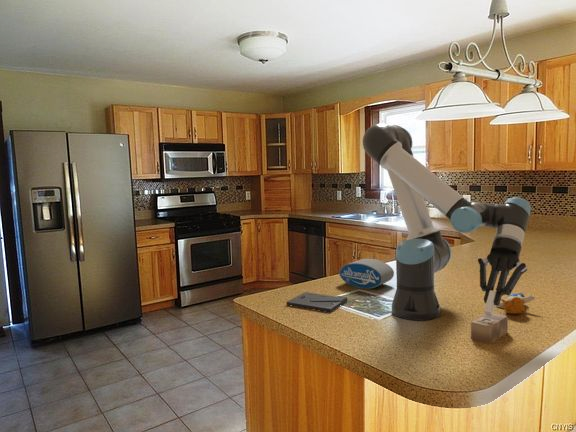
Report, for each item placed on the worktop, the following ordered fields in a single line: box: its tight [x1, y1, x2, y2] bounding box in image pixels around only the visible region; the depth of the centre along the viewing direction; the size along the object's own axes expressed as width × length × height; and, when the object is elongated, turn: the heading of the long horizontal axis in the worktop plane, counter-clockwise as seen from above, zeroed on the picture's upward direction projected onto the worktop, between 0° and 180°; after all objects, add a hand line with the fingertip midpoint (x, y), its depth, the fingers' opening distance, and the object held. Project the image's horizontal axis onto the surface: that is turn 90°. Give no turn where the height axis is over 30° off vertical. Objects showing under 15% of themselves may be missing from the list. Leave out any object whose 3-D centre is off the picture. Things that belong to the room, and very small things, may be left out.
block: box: [470, 312, 509, 345], centre depth 114 cm, size 5×5×11 cm
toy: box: [495, 291, 536, 315], centre depth 133 cm, size 12×6×15 cm
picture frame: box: [286, 291, 348, 313], centre depth 148 cm, size 13×2×18 cm
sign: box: [338, 258, 395, 290], centre depth 169 cm, size 20×10×10 cm, turn 49°
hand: (488, 313), depth 111 cm, fingers closed
